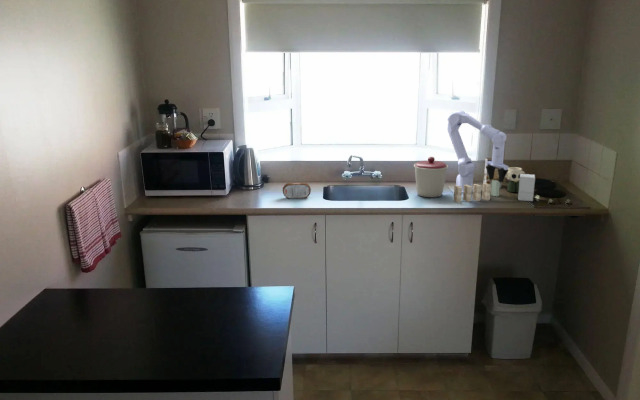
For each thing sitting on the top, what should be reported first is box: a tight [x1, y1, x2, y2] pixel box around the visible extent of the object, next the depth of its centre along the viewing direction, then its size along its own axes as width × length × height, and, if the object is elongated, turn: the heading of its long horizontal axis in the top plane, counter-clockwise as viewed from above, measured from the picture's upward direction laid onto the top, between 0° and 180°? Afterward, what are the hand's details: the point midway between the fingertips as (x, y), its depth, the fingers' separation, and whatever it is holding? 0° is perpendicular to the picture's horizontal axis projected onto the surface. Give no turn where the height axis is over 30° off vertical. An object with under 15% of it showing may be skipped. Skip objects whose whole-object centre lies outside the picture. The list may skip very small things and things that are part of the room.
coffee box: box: [482, 157, 505, 188], centre depth 295 cm, size 9×6×16 cm
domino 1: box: [453, 185, 463, 204], centre depth 266 cm, size 4×2×8 cm, turn 15°
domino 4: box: [481, 183, 491, 201], centre depth 270 cm, size 4×2×8 cm, turn 14°
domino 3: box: [471, 183, 482, 202], centre depth 269 cm, size 4×2×8 cm, turn 15°
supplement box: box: [517, 173, 536, 202], centre depth 268 cm, size 7×7×13 cm
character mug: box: [504, 166, 526, 193], centre depth 283 cm, size 11×7×13 cm, turn 93°
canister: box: [413, 156, 449, 198], centre depth 277 cm, size 18×18×21 cm
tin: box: [282, 182, 312, 199], centre depth 276 cm, size 15×3×8 cm, turn 94°
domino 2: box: [462, 185, 473, 203], centre depth 267 cm, size 4×2×8 cm, turn 15°
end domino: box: [490, 180, 501, 197], centre depth 277 cm, size 4×2×8 cm, turn 15°
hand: (495, 180), depth 275 cm, fingers open, 7 cm apart
